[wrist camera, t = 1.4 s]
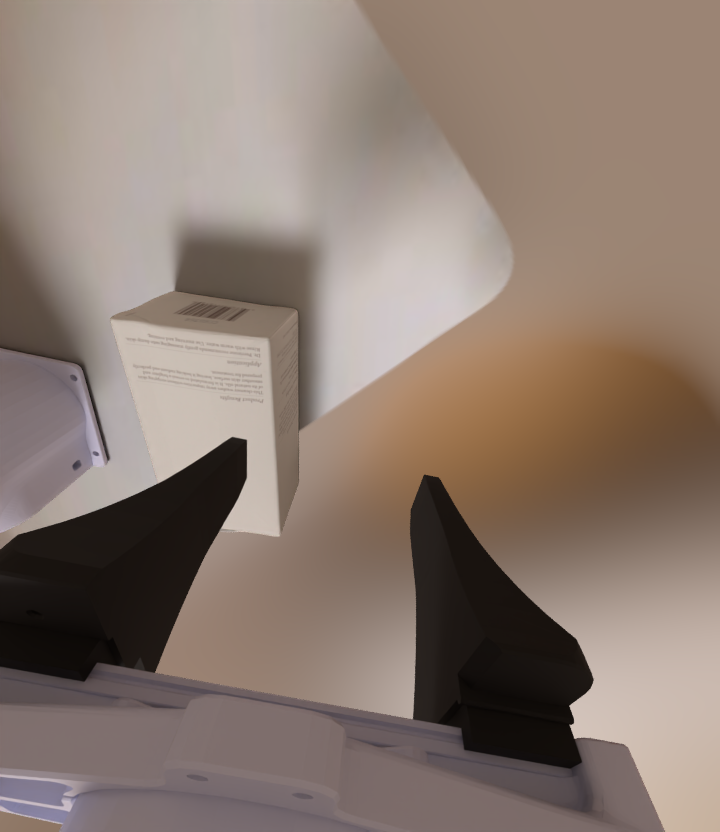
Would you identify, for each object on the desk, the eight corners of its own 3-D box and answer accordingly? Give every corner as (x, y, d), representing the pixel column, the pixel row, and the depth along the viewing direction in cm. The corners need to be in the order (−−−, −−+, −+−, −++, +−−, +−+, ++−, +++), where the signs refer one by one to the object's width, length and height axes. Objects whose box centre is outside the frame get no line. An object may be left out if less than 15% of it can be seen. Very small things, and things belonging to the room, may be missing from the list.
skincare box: (172, 288, 21) (203, 468, 29) (98, 315, 15) (162, 525, 23) (306, 307, 20) (300, 483, 28) (277, 342, 15) (279, 543, 23)
